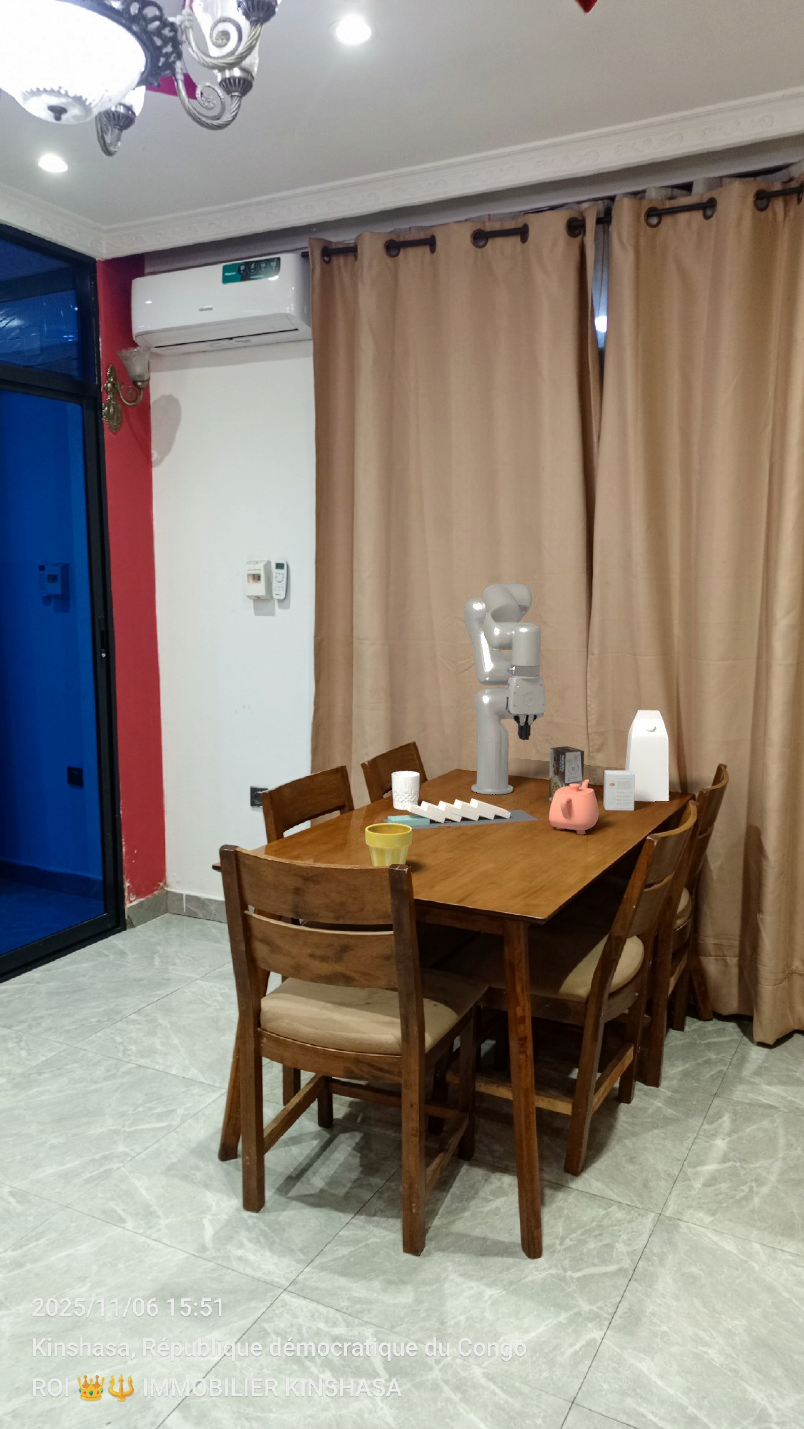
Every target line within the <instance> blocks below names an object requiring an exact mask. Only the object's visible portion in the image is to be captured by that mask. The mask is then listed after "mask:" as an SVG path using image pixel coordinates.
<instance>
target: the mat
mask: <svg viewBox="0 0 804 1429" xmlns="http://www.w3.org/2000/svg"><path fill="white" fill-rule="evenodd" d="M507 811H508V812H510V813H511V814H510V817H509V819H508V818H505V817H502V816H499V815H496V814H495V816H494V818H493V820H492V819H489V818H486V817H483V816H480V815H479V818H478V821H476V820H473V819H469V818H466V817H463V816H462V818H461V820H460V821H463V822H457V821H454V820H451V819H449V818H446V817H445V820H444V821H451V822H444V823H441V822H435V821H436V820H433V819H430V824H429V825H415V826H410V827H411V828H412V830H424V829H425V830H426V829H436V828H438V829H439V828H441V827H438V826H451V827H452V826H453V827H465V826H477V825H478V826H479V825H491V824H492V825H493V824H503V823H505V824H506V823H516V822H517V823H520V822H530V821H531V822H532V821H533V822H534V821H535V822H536V821H539V819H538V818H536V817H534V816H532V815H531V814H529V813H528V812H526V811H524V810H522V809H511V810H507ZM382 821H383V822H384V823H388V818H384V819H382ZM467 821H468V822H467ZM459 824H460V825H459ZM451 827H450V828H451Z"/></svg>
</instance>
